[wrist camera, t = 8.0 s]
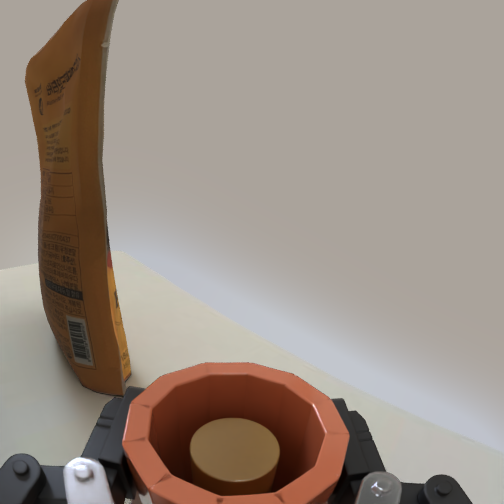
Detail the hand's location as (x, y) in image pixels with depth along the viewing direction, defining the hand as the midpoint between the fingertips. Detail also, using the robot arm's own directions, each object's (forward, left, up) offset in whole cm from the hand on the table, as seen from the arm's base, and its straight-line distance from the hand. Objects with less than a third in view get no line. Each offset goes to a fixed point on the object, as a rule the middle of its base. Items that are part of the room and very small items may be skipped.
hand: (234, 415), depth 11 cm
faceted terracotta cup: (-1, +2, -7) cm, 7 cm away
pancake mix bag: (+19, -7, -9) cm, 22 cm away
